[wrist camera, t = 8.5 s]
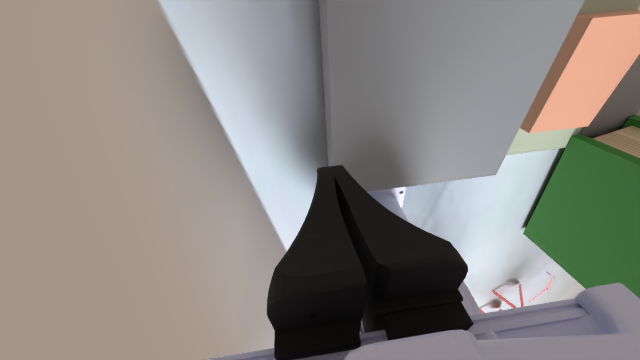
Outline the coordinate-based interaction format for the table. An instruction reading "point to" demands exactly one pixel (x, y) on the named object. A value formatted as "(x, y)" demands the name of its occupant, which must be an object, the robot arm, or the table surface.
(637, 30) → the terracotta tile
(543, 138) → the sage mat
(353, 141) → the block
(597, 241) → the hardback book
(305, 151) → the table surface
